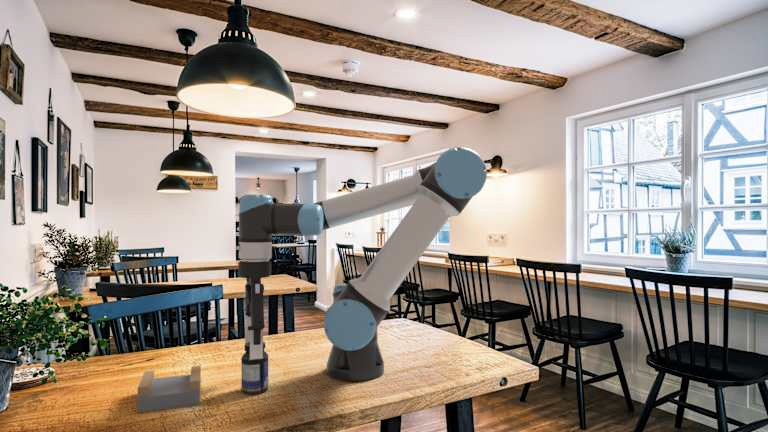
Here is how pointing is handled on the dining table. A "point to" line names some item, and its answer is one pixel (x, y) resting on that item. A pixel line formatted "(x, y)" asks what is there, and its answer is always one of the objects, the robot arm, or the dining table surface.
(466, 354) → the dining table surface
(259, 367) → the pill bottle
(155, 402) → the display plinth
